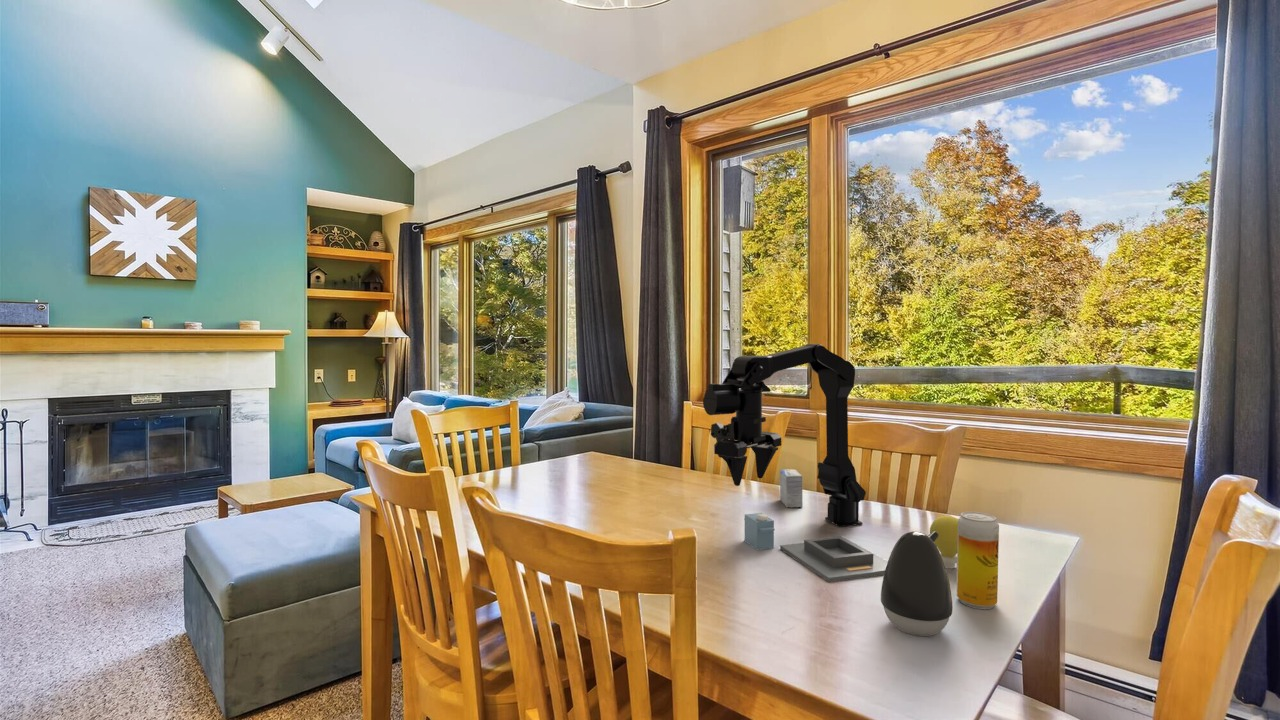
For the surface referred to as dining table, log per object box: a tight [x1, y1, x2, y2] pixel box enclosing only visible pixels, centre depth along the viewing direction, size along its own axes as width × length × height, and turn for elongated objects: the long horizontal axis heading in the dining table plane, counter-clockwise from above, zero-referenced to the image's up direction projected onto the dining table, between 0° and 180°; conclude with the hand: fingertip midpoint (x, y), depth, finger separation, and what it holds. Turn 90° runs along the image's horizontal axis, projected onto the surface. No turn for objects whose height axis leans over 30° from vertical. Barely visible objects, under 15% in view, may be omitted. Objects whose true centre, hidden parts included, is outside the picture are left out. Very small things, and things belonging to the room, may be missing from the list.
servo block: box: [743, 512, 775, 551], centre depth 132 cm, size 4×8×7 cm, turn 16°
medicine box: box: [779, 469, 804, 508], centre depth 163 cm, size 8×4×9 cm, turn 179°
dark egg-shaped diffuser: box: [880, 530, 954, 637], centre depth 94 cm, size 10×10×15 cm
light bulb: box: [929, 515, 959, 569], centre depth 119 cm, size 7×7×10 cm
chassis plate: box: [779, 535, 888, 583], centre depth 122 cm, size 16×18×3 cm
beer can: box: [956, 511, 1000, 610], centre depth 102 cm, size 6×6×15 cm
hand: (748, 481), depth 135 cm, fingers open, 9 cm apart
